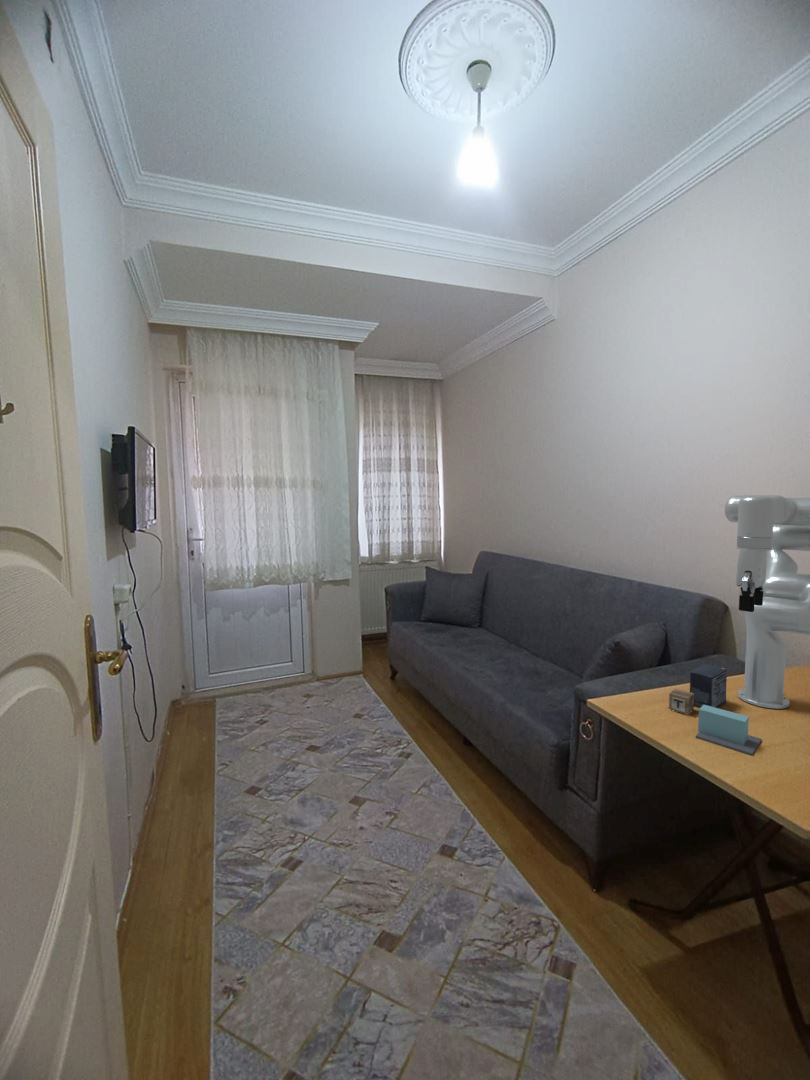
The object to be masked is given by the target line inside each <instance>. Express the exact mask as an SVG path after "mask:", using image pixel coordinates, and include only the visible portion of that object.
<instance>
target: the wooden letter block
mask: <svg viewBox="0 0 810 1080" xmlns="http://www.w3.org/2000/svg"><path fill="white" fill-rule="evenodd" d="M668 695H669V696H668V697H669V698H668V699H669V700H668V710H669V709H671V710H670V711H672V710H674V711H673V712H675V711H677V712H676V713H679V712H680V713H679V714H682V713H684V714H683V715H685V714H687V715H686V716H689V715H690V714H691V713H692V712H693V711H694V710H695V706H694V693H691V692H690V691H686V690H684V689H683V690H682V689H679V688H674V689H673V690H672V691H670V692H669V694H668ZM691 711H692V712H691ZM690 712H691V713H690ZM689 713H690V714H689ZM688 714H689V715H688Z"/></svg>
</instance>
